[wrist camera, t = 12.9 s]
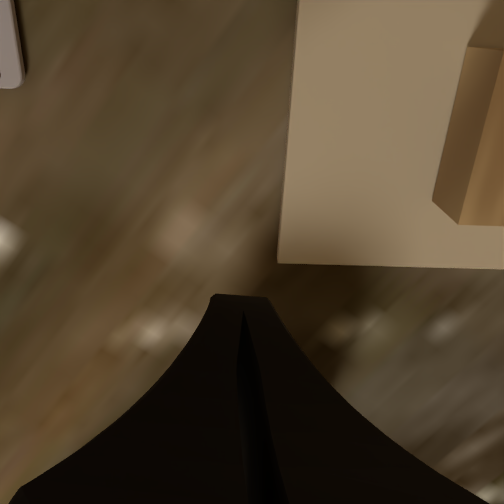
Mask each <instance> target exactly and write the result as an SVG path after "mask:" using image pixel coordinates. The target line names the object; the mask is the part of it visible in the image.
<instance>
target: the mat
mask: <svg viewBox="0 0 504 504" xmlns="http://www.w3.org/2000/svg"><path fill="white" fill-rule="evenodd" d="M467 47H483V48H502V49H504V0H297V11H296V24H295V36H294V48H293V61H292V73H291V86H290V98H289V110H288V123H287V135H286V148H285V160H284V172H283V185H282V197H281V209H280V222H279V234H278V247H277V262H278V263H286V264H324V265H361V266H399V267H437V268H474V269H504V226H477V225H458V224H456V223H455V222H454V221H453V220H452V219H451V218H450V217H449V216H448V215H447V214H446V213H444V212H443V211H442V210H441V209H440V208H439V207H438V206H437V205H436V204H435V203H433V202H432V197H433V193H434V189H435V184H436V180H437V176H438V171H439V167H440V163H441V158H442V154H443V150H444V145H445V141H446V137H447V132H448V128H449V124H450V119H451V115H452V111H453V106H454V102H455V98H456V93H457V89H458V85H459V80H460V76H461V72H462V67H463V63H464V59H465V54H466V50H467Z"/></svg>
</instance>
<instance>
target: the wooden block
mask: <svg viewBox="0 0 504 504" xmlns="http://www.w3.org/2000/svg"><path fill="white" fill-rule="evenodd" d="M432 202H433V203H435V204H436V205H437V206H438V207H439V208H440V209H441V210H442V211H443V212H444V213H446V214H447V215H448V216H449V217H450V218H451V219H452V220H453V221H454V222H455V223H456V224H458V225H477V226H504V49H502V48H483V47H467V50H466V54H465V59H464V63H463V67H462V72H461V76H460V80H459V85H458V89H457V93H456V98H455V102H454V106H453V111H452V115H451V119H450V124H449V128H448V132H447V137H446V141H445V145H444V150H443V154H442V158H441V163H440V167H439V171H438V176H437V180H436V184H435V189H434V193H433V197H432Z"/></svg>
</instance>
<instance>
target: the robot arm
mask: <svg viewBox="0 0 504 504" xmlns="http://www.w3.org/2000/svg"><path fill="white" fill-rule="evenodd" d="M0 73H1V78H0V88H8V89H11V88H16V87H19V86H21V85H22V84H23V82H24V80H25V70H24V63H23V57H22V50H21V44H20V38H19V31H18V25H17V18H16V12H15V5H14V0H0ZM9 504H489V503H487V502H486V501H484V500H482V499H481V498H479V497H478V496H476V495H474V494H473V493H471V492H469V491H468V490H466V489H464V488H463V487H461V486H459V485H458V484H456V483H454V482H453V481H451V480H449V479H448V478H446V477H444V476H443V475H441V474H440V473H438V472H436V471H435V470H433V469H432V468H430V467H429V466H428V465H426V464H425V463H423V462H422V461H420V460H419V459H418V458H416V457H415V456H413V455H412V454H410V453H409V452H408V451H406V450H405V449H403V448H402V447H401V446H399V445H398V444H397V443H395V442H394V441H393V440H391V439H390V438H389V437H388V436H386V435H385V434H384V433H383V432H381V431H380V430H379V429H378V428H377V427H375V426H374V425H373V424H372V423H371V422H369V421H368V420H367V419H366V418H365V417H363V416H362V415H361V414H360V413H359V412H358V411H357V410H356V409H354V408H353V407H352V406H351V405H350V404H349V403H348V402H347V401H346V400H345V399H344V398H343V397H342V396H341V395H340V394H339V393H338V392H337V391H336V390H335V389H334V388H333V387H332V386H331V385H330V384H329V383H328V382H327V381H326V379H325V378H324V377H323V376H322V375H321V374H320V372H319V371H318V370H317V369H316V368H315V366H314V365H313V364H312V363H311V361H310V360H309V359H308V358H307V356H306V355H305V354H304V352H303V351H302V350H301V348H300V347H299V346H298V344H297V343H296V341H295V340H294V339H293V337H292V336H291V334H290V333H289V331H288V330H287V328H286V327H285V325H284V324H283V322H282V321H281V319H280V317H279V316H278V314H277V312H276V311H275V309H274V307H273V306H272V304H271V302H270V301H269V300H268V298H266V297H253V296H240V295H227V294H215V295H213V296H212V297H211V298H210V303H209V305H208V308H207V310H206V312H205V314H204V316H203V318H202V320H201V322H200V324H199V325H198V327H197V329H196V330H195V332H194V333H193V335H192V337H191V338H190V340H189V341H188V343H187V344H186V346H185V347H184V348H183V350H182V351H181V352H180V354H179V355H178V356H177V358H176V359H175V360H174V362H173V363H172V364H171V366H170V367H169V368H168V369H167V370H166V372H165V373H164V374H163V375H162V376H161V377H160V378H159V380H158V381H157V382H156V383H155V384H154V385H153V386H152V387H151V388H150V389H149V390H148V391H147V392H146V393H145V394H144V395H143V396H142V397H141V398H140V399H139V400H138V401H137V402H136V403H135V404H134V405H133V406H132V407H131V408H130V409H129V410H128V411H126V412H125V413H124V414H123V415H122V416H121V417H120V418H118V419H117V420H116V421H115V422H114V423H113V424H111V425H110V426H109V427H107V428H106V429H105V430H104V431H102V432H101V433H100V434H98V435H97V436H96V437H95V438H93V439H92V440H91V441H89V442H88V443H87V444H86V445H84V446H83V447H82V448H80V449H79V450H78V451H76V452H75V453H73V454H72V455H70V456H69V457H67V458H66V459H64V460H63V461H61V462H60V463H58V464H57V465H55V466H54V467H52V468H50V469H49V470H47V471H46V472H44V473H43V474H41V475H40V476H38V477H37V478H35V479H33V480H32V481H30V482H28V483H27V484H25V485H23V486H22V487H20V488H19V489H18V491H17V492H16V494H15V495H14V496H13V498H12V499H11V501H10V502H9Z"/></svg>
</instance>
